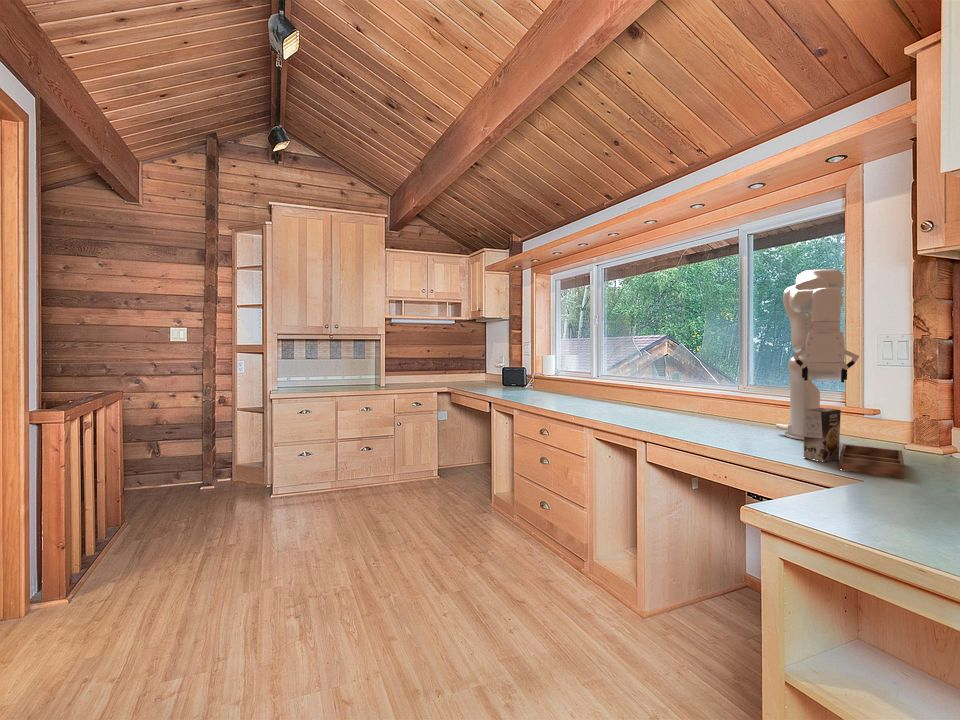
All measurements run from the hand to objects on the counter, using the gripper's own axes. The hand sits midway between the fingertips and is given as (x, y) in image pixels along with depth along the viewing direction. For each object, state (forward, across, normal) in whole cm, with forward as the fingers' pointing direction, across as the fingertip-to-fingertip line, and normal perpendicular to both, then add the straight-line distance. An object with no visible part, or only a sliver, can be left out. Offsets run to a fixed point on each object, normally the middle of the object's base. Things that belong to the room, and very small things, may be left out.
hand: (823, 381), depth 157 cm
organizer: (+25, +12, -2) cm, 28 cm away
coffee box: (+25, 0, 0) cm, 25 cm away
